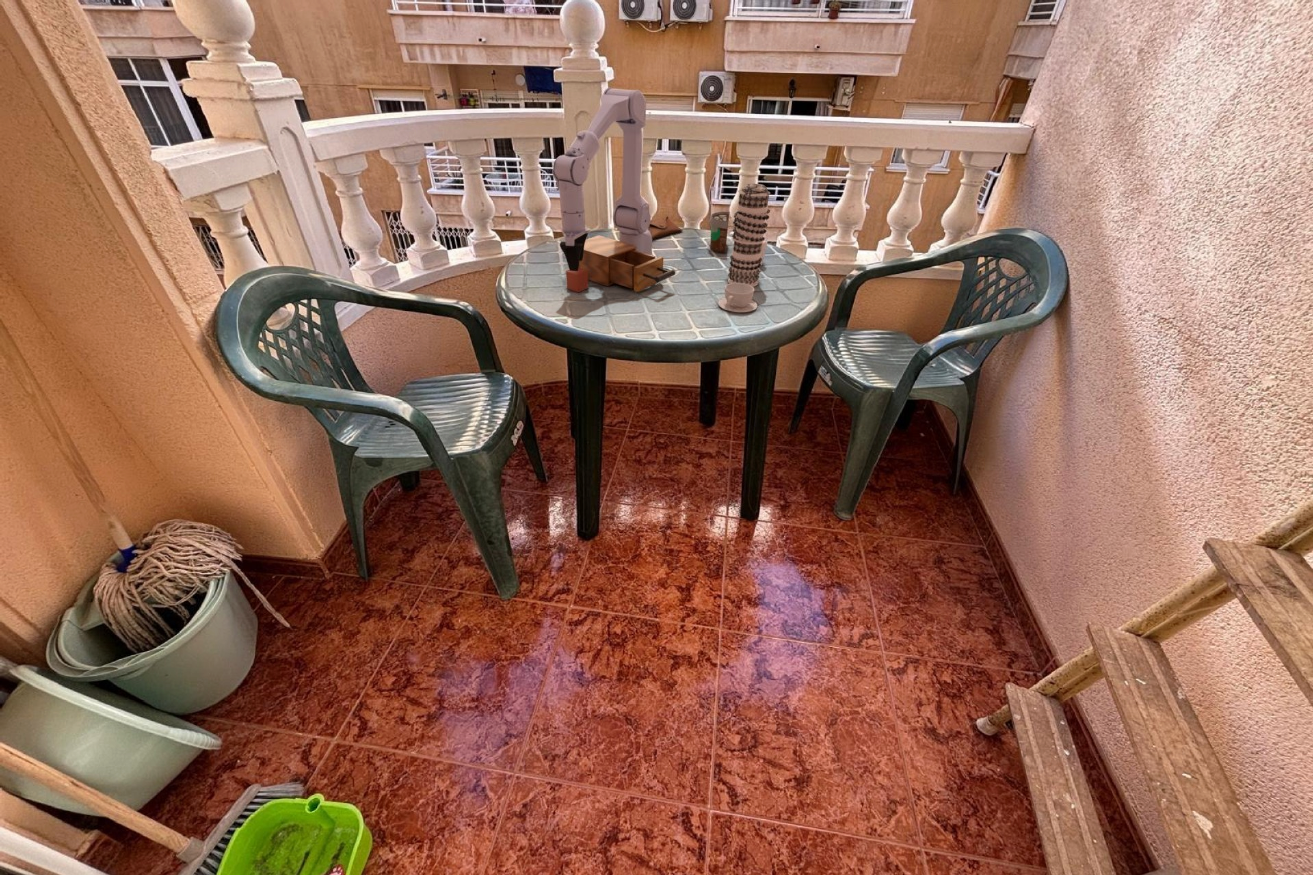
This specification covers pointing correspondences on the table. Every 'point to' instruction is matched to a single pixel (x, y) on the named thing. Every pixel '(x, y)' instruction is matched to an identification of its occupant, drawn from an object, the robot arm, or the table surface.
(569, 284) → the block
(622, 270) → the drawer
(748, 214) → the decorative candle
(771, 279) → the table surface
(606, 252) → the cabinet
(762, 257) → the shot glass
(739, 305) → the teacup
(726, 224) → the food container
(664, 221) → the sunglasses case
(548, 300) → the table surface
